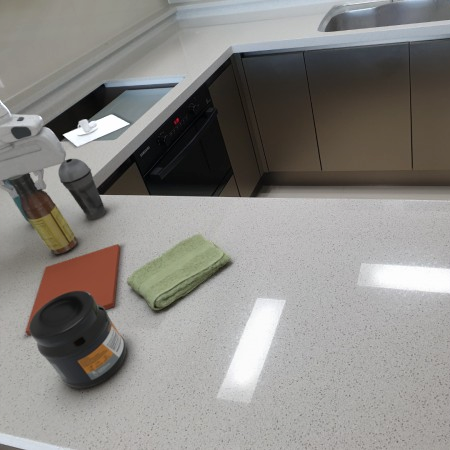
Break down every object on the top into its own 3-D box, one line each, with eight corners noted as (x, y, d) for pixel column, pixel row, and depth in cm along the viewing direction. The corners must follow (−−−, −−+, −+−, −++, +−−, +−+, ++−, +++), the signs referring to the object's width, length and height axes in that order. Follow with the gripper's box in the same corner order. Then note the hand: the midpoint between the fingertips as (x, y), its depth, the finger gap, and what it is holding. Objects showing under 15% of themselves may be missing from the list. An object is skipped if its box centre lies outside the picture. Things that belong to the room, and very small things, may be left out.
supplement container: (140, 355, 75) (108, 303, 68) (81, 403, 69) (40, 352, 62) (110, 328, 81) (78, 279, 74) (54, 370, 76) (14, 321, 69)
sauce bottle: (68, 236, 110) (25, 163, 99) (84, 241, 107) (41, 166, 95) (44, 253, 106) (-4, 178, 94) (60, 258, 103) (12, 182, 91)
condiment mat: (28, 335, 84) (25, 331, 84) (47, 270, 100) (45, 266, 100) (114, 306, 86) (112, 302, 85) (120, 247, 102) (118, 243, 102)
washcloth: (236, 261, 90) (231, 249, 88) (158, 317, 81) (151, 304, 79) (200, 239, 98) (195, 227, 96) (126, 287, 90) (119, 275, 88)
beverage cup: (117, 208, 117) (80, 137, 106) (94, 224, 113) (53, 152, 101) (99, 204, 121) (62, 135, 110) (76, 220, 116) (35, 149, 105)
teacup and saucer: (96, 124, 176) (91, 114, 174) (103, 128, 171) (98, 117, 168) (74, 133, 173) (69, 123, 170) (80, 137, 167) (75, 127, 165)
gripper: (-69, 154, 86) (-25, 214, 94) (42, 124, 88) (75, 185, 96) (-56, 141, 91) (-16, 199, 99) (48, 113, 93) (79, 172, 101)
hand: (30, 192), depth 98 cm, fingers closed on sauce bottle, 4 cm apart
